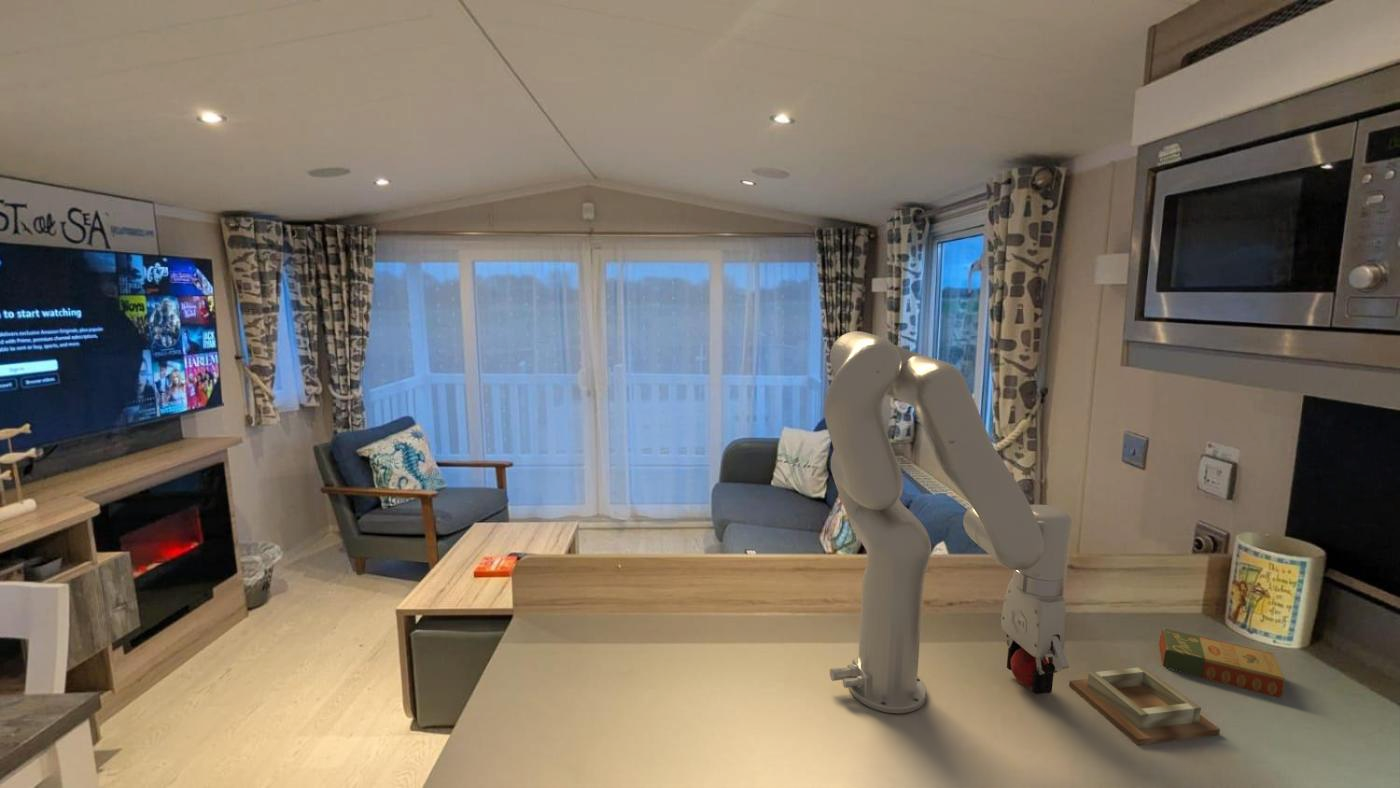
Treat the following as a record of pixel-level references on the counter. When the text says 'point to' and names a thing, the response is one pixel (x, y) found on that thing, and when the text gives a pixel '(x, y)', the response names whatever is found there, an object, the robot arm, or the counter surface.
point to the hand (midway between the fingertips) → (1028, 679)
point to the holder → (1143, 706)
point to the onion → (1024, 666)
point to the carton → (1222, 662)
